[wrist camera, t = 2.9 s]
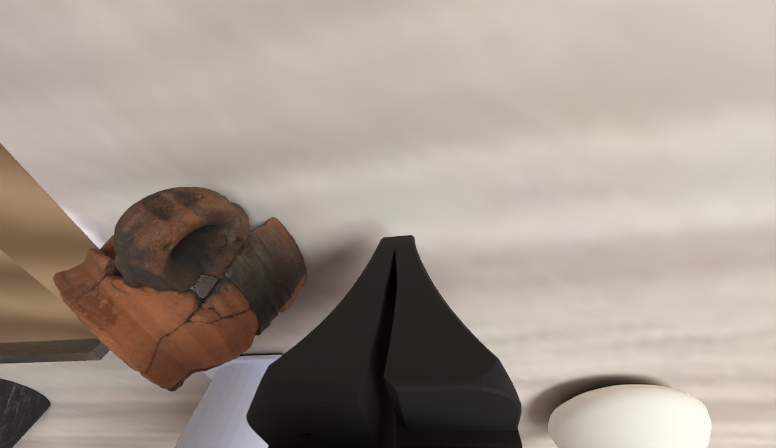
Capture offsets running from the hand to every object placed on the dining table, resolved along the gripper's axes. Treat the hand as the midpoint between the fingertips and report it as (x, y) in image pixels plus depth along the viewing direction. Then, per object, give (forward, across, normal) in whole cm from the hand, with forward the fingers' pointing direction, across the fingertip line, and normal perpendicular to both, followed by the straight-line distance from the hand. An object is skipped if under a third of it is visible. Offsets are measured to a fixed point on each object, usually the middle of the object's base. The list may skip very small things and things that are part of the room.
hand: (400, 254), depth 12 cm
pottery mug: (+3, +10, +1) cm, 11 cm away
